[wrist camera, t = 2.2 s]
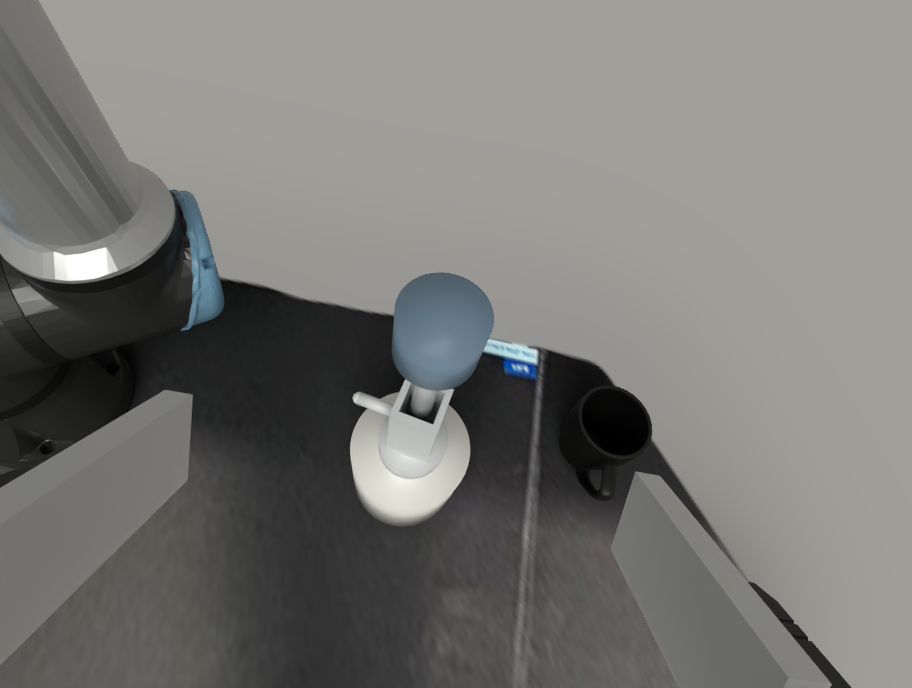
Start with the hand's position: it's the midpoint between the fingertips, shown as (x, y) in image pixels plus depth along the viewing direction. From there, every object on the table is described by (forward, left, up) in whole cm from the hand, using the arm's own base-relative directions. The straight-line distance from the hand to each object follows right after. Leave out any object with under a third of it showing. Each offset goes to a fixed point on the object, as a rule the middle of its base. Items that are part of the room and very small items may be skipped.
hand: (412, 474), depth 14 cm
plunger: (-1, +9, -19) cm, 21 cm away
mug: (+18, +18, -40) cm, 47 cm away
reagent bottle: (-1, +9, -40) cm, 41 cm away
